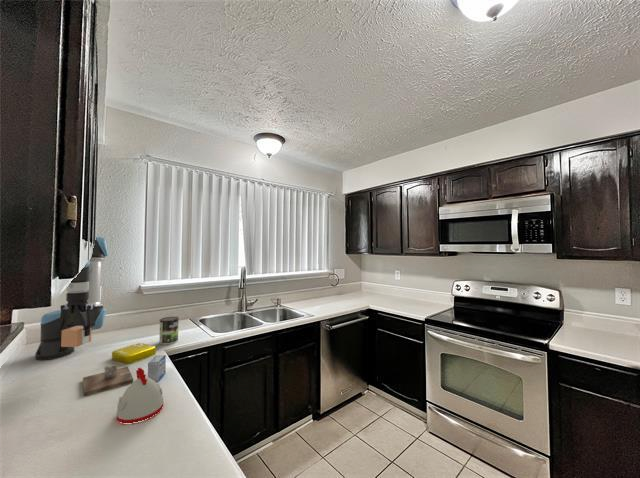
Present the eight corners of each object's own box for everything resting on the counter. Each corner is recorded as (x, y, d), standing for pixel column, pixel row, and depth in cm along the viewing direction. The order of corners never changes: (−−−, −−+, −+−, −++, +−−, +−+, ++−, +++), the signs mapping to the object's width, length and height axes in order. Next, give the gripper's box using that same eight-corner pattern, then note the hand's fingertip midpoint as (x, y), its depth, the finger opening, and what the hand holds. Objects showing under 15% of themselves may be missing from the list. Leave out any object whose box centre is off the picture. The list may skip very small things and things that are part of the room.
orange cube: (61, 346, 116) (61, 329, 116) (76, 341, 123) (76, 325, 123) (76, 346, 116) (77, 330, 116) (91, 341, 123) (91, 325, 123)
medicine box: (158, 381, 117) (158, 361, 117) (147, 382, 116) (147, 362, 116) (165, 373, 124) (166, 354, 125) (155, 374, 124) (155, 355, 124)
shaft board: (84, 396, 105) (84, 379, 105) (82, 381, 117) (83, 366, 117) (133, 382, 116) (133, 367, 116) (127, 369, 128) (127, 355, 128)
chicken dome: (155, 396, 105) (155, 358, 106) (169, 410, 97) (170, 368, 97) (111, 413, 95) (112, 370, 95) (123, 430, 86) (124, 383, 86)
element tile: (110, 360, 139) (110, 350, 139) (139, 349, 153) (139, 341, 153) (127, 365, 133) (128, 355, 133) (157, 354, 147) (157, 345, 147)
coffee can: (182, 339, 168) (182, 317, 168) (168, 345, 158) (168, 321, 159) (169, 337, 171) (170, 315, 172) (155, 343, 162) (155, 319, 162)
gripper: (47, 292, 117) (46, 346, 116) (92, 293, 116) (90, 346, 115) (64, 290, 124) (63, 340, 123) (106, 290, 123) (105, 340, 123)
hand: (76, 343), depth 119 cm, fingers closed on orange cube, 7 cm apart
